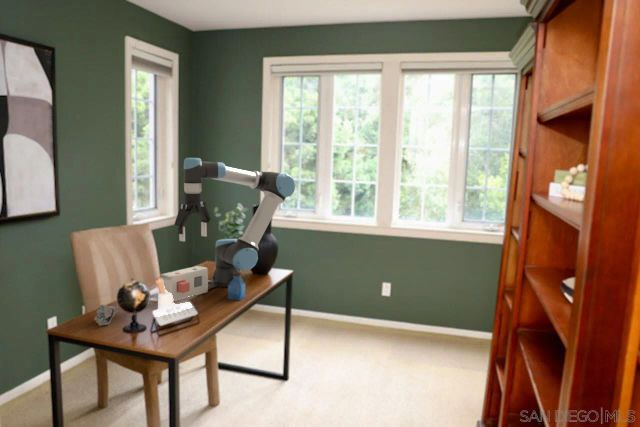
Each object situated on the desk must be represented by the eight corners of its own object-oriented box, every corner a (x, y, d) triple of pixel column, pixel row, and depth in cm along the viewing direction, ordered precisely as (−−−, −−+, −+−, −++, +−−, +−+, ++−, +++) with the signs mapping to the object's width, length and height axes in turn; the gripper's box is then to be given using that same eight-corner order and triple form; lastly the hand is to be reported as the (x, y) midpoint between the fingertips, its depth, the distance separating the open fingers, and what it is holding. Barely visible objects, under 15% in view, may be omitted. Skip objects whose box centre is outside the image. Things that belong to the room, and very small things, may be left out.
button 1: (193, 282, 225) (193, 274, 224) (201, 284, 222) (201, 276, 221) (187, 284, 221) (187, 276, 221) (194, 286, 218) (194, 278, 218)
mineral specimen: (99, 333, 184) (124, 327, 184) (88, 326, 177) (113, 320, 177) (101, 311, 189) (125, 305, 189) (90, 303, 183) (115, 297, 183)
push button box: (210, 285, 236) (210, 262, 234) (219, 288, 232) (220, 264, 230) (160, 299, 211) (160, 273, 210) (170, 303, 207) (170, 276, 206)
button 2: (181, 288, 215) (181, 280, 214) (189, 291, 211) (189, 282, 211) (174, 290, 211) (174, 282, 211) (182, 293, 208) (182, 284, 208)
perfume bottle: (240, 300, 216) (241, 275, 214) (228, 298, 217) (228, 274, 215) (245, 296, 222) (245, 272, 220) (233, 294, 223) (233, 270, 221)
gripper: (206, 189, 221) (206, 233, 224) (165, 193, 199) (166, 242, 203) (218, 190, 217) (218, 235, 221) (177, 195, 196) (178, 244, 199)
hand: (193, 238), depth 212 cm, fingers open, 13 cm apart
